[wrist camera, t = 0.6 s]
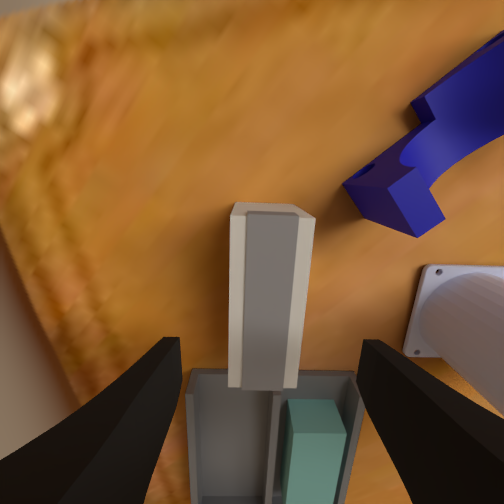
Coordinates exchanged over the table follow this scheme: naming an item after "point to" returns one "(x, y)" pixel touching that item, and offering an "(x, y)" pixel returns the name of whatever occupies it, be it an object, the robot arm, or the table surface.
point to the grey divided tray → (257, 434)
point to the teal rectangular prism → (311, 451)
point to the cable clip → (434, 143)
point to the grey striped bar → (267, 293)
